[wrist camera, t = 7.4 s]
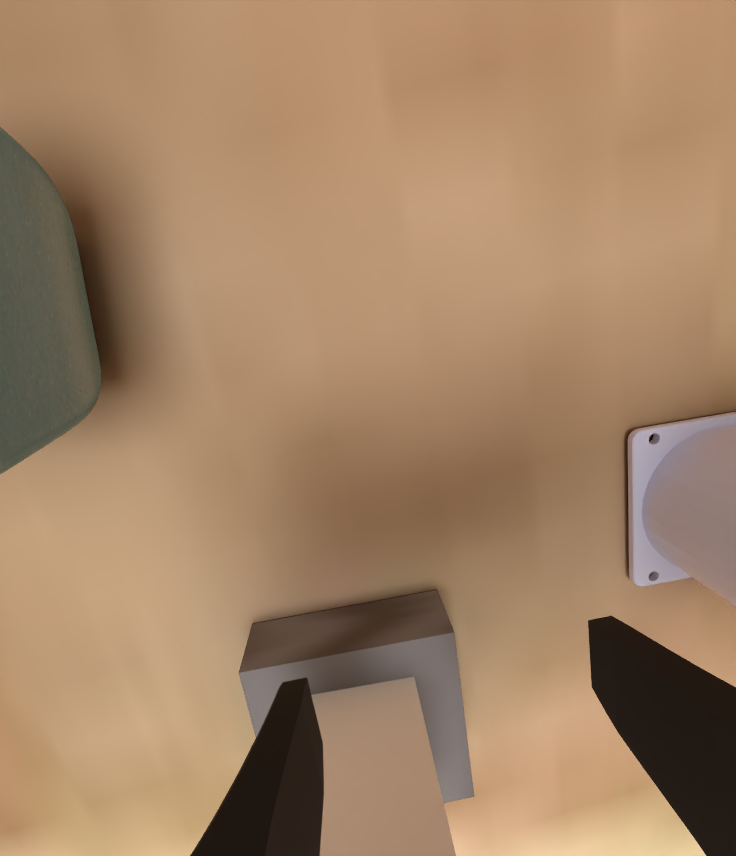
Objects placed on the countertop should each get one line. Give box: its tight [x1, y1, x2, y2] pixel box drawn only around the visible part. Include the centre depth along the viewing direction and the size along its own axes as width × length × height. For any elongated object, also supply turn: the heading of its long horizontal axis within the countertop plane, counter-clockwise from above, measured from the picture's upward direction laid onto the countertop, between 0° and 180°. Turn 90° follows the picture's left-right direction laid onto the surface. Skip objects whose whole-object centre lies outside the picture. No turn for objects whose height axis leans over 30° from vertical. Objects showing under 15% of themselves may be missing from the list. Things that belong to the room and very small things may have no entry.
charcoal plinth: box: [239, 590, 474, 803], centre depth 20 cm, size 9×9×3 cm
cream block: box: [311, 677, 456, 856], centre depth 15 cm, size 5×5×7 cm
